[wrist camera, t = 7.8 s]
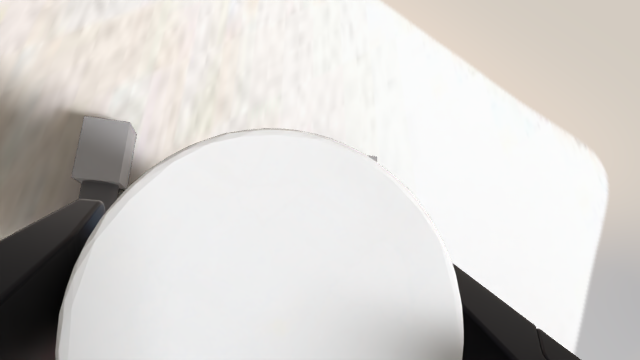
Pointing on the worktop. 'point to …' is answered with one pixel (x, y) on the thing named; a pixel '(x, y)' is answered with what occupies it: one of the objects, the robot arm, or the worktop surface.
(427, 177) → the worktop surface
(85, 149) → the grey block-headed part
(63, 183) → the worktop surface
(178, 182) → the pill bottle
